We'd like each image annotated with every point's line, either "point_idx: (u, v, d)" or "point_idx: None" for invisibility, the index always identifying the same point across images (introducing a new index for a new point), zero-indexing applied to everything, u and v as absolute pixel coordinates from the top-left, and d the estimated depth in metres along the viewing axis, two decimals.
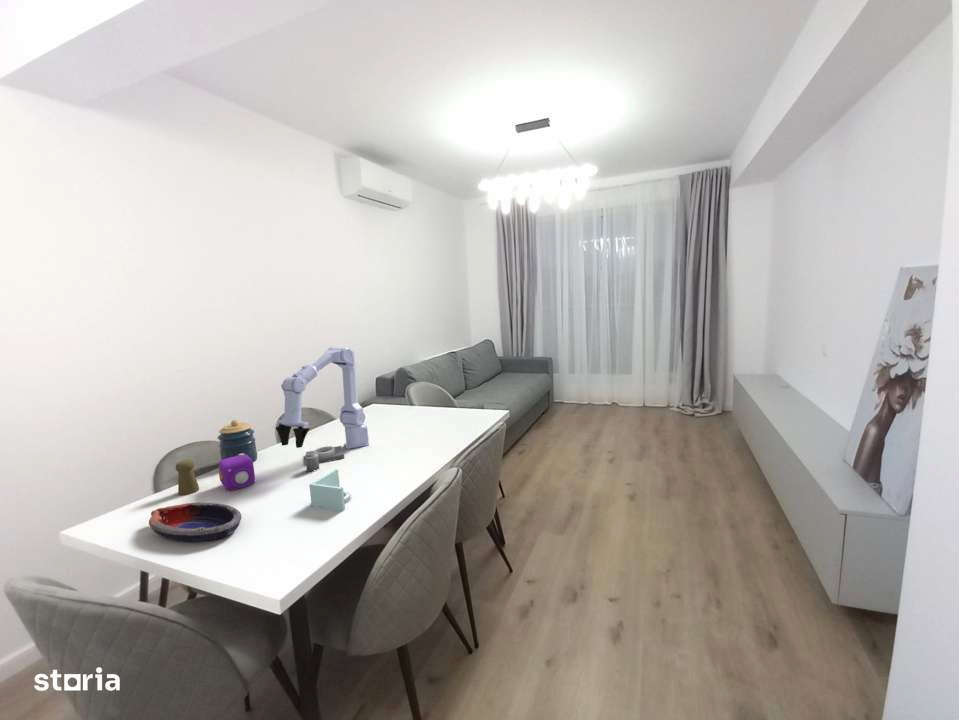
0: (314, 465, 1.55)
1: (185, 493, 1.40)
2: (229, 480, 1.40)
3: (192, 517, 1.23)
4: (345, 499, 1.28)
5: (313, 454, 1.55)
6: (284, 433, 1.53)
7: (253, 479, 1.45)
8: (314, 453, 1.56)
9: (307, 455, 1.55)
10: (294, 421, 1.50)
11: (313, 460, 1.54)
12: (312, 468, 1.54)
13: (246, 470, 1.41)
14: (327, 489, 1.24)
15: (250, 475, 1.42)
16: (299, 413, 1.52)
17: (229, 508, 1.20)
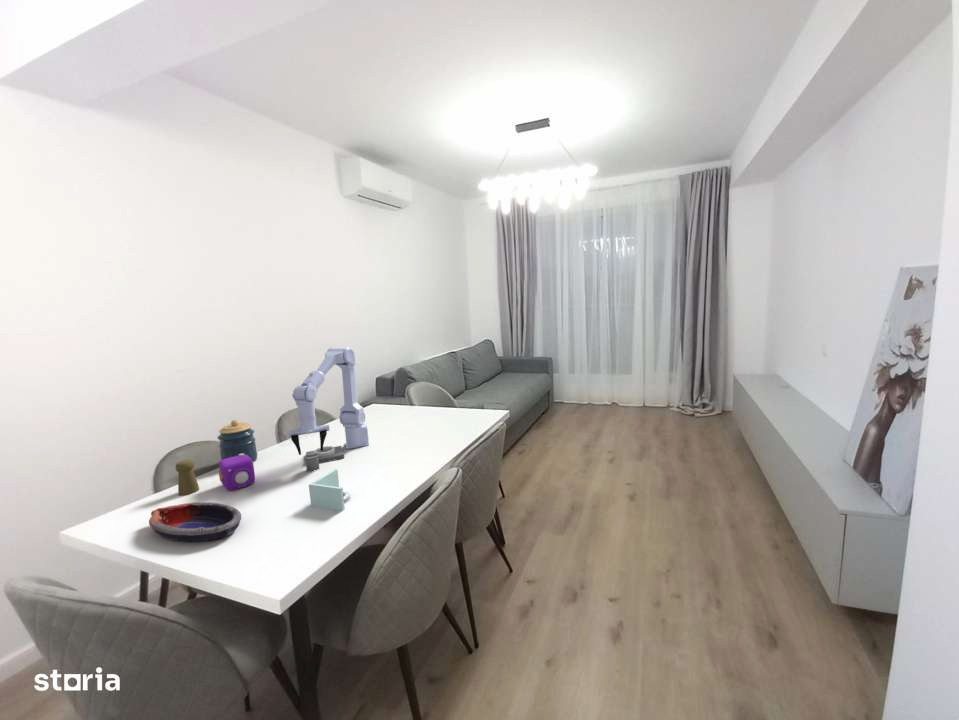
0: (314, 465, 1.55)
1: (185, 493, 1.40)
2: (229, 480, 1.40)
3: (192, 517, 1.23)
4: (344, 499, 1.28)
5: (313, 454, 1.55)
6: None
7: (253, 479, 1.45)
8: (314, 453, 1.56)
9: (307, 455, 1.55)
10: (315, 427, 1.54)
11: (313, 460, 1.54)
12: (312, 468, 1.54)
13: (246, 470, 1.41)
14: (326, 489, 1.24)
15: (250, 475, 1.42)
16: None
17: (229, 508, 1.20)
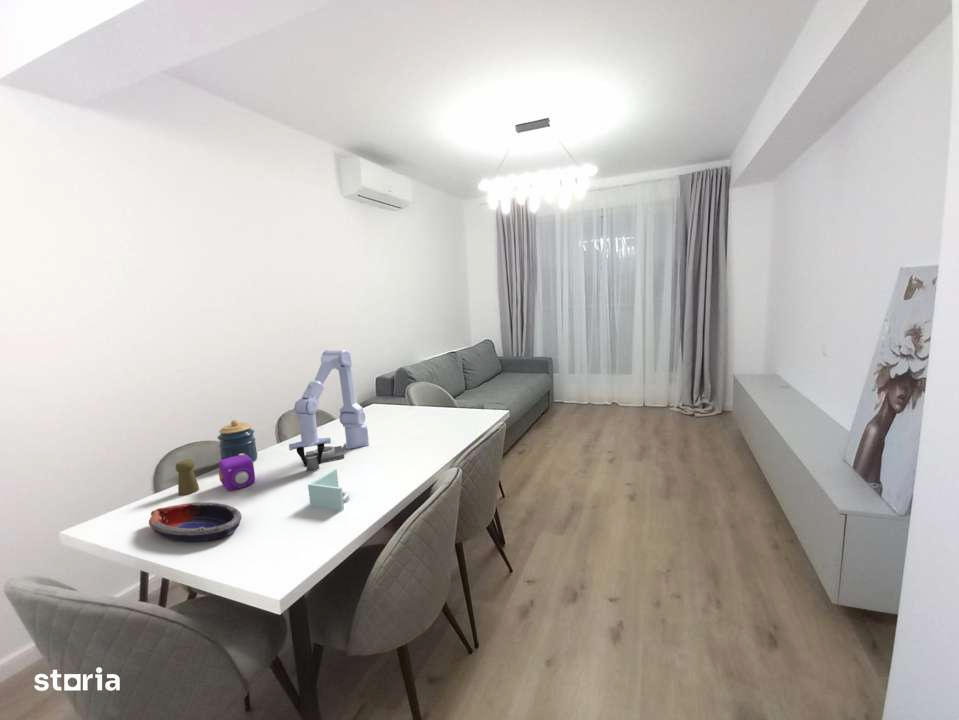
0: (314, 465, 1.55)
1: (185, 493, 1.40)
2: (229, 480, 1.40)
3: (192, 517, 1.23)
4: (344, 499, 1.28)
5: (313, 454, 1.55)
6: (304, 455, 1.54)
7: (253, 479, 1.45)
8: (314, 453, 1.56)
9: (307, 455, 1.55)
10: (317, 440, 1.55)
11: (313, 460, 1.54)
12: (312, 468, 1.54)
13: (246, 470, 1.41)
14: (326, 489, 1.24)
15: (250, 475, 1.42)
16: None
17: (229, 508, 1.20)
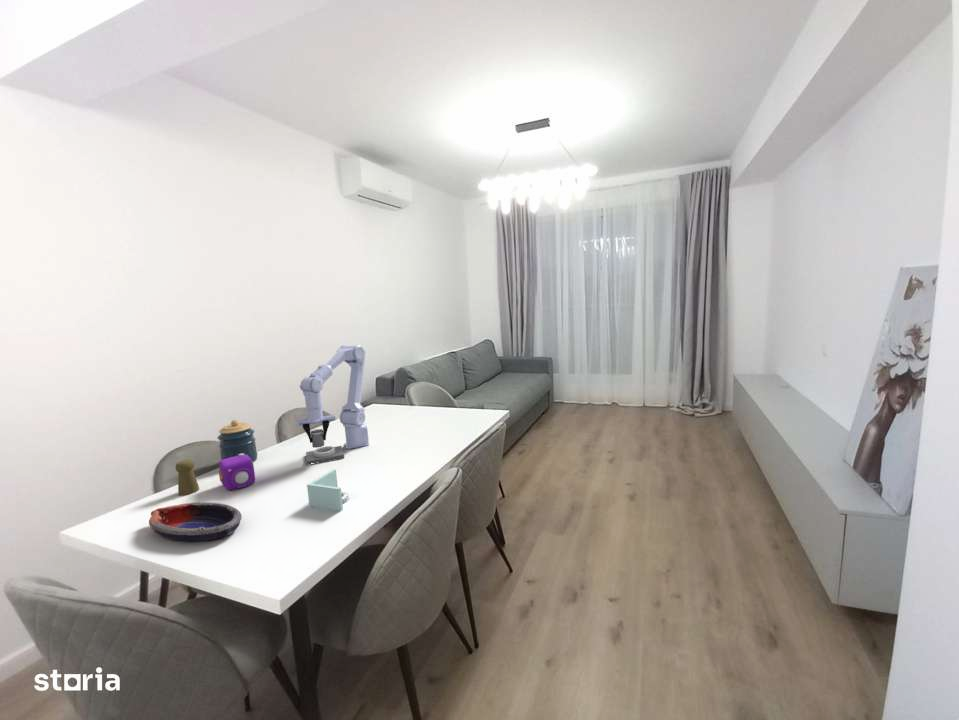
0: (320, 441, 1.61)
1: (185, 493, 1.40)
2: (229, 480, 1.40)
3: (192, 517, 1.23)
4: (343, 499, 1.28)
5: (318, 430, 1.62)
6: None
7: (253, 479, 1.45)
8: (319, 430, 1.63)
9: (313, 431, 1.61)
10: (322, 417, 1.61)
11: (319, 436, 1.60)
12: (317, 444, 1.60)
13: (246, 470, 1.41)
14: (325, 489, 1.24)
15: (250, 475, 1.42)
16: None
17: (229, 508, 1.20)
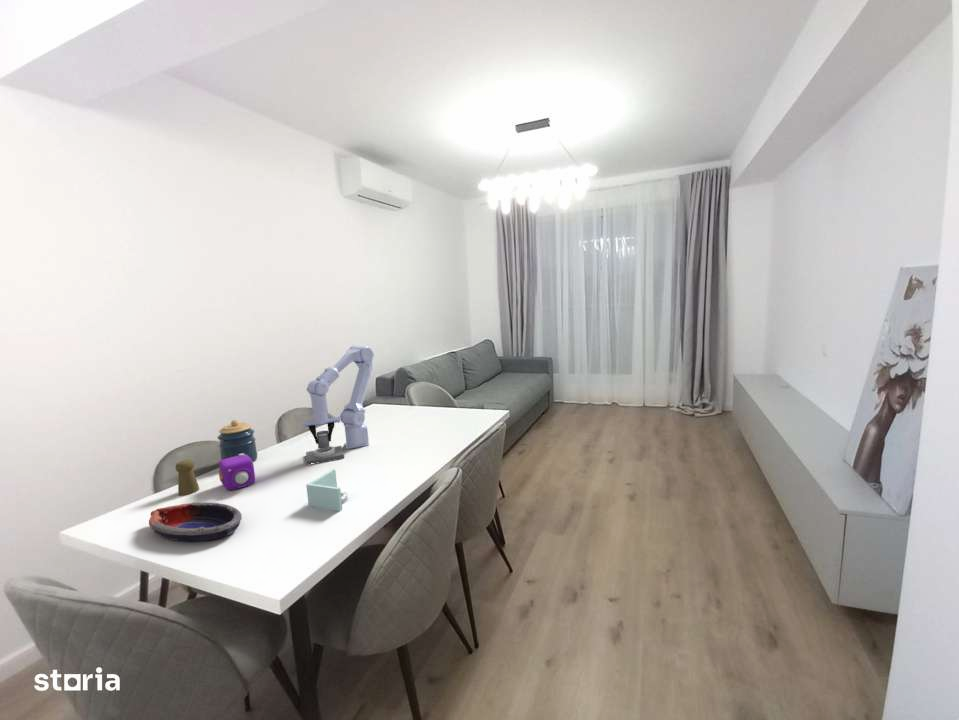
0: (325, 442, 1.67)
1: (185, 493, 1.40)
2: (229, 480, 1.40)
3: (192, 517, 1.23)
4: (342, 499, 1.28)
5: (324, 432, 1.68)
6: None
7: (253, 479, 1.45)
8: (325, 431, 1.69)
9: (318, 433, 1.67)
10: (327, 419, 1.67)
11: (324, 438, 1.66)
12: (322, 445, 1.66)
13: (246, 470, 1.41)
14: (324, 489, 1.24)
15: (250, 475, 1.42)
16: None
17: (229, 508, 1.20)
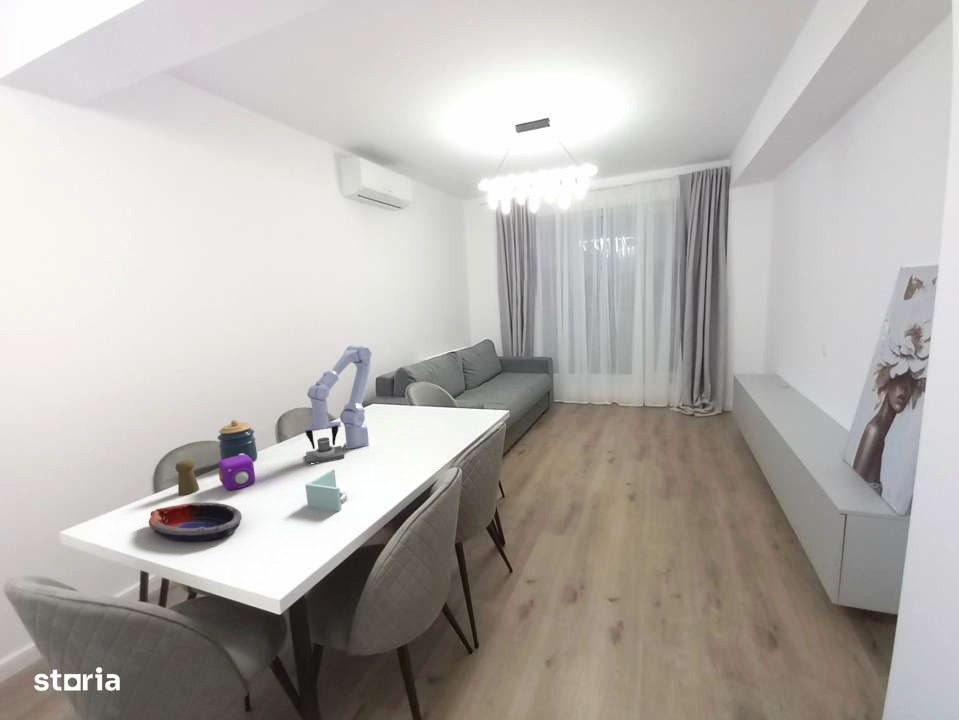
0: (326, 449, 1.67)
1: (185, 493, 1.40)
2: (229, 480, 1.40)
3: (192, 517, 1.23)
4: (341, 499, 1.28)
5: (325, 439, 1.68)
6: None
7: (253, 479, 1.45)
8: (326, 438, 1.69)
9: (319, 440, 1.67)
10: (328, 423, 1.67)
11: (325, 445, 1.67)
12: None
13: (246, 470, 1.41)
14: (323, 489, 1.24)
15: (250, 475, 1.42)
16: None
17: (229, 508, 1.20)
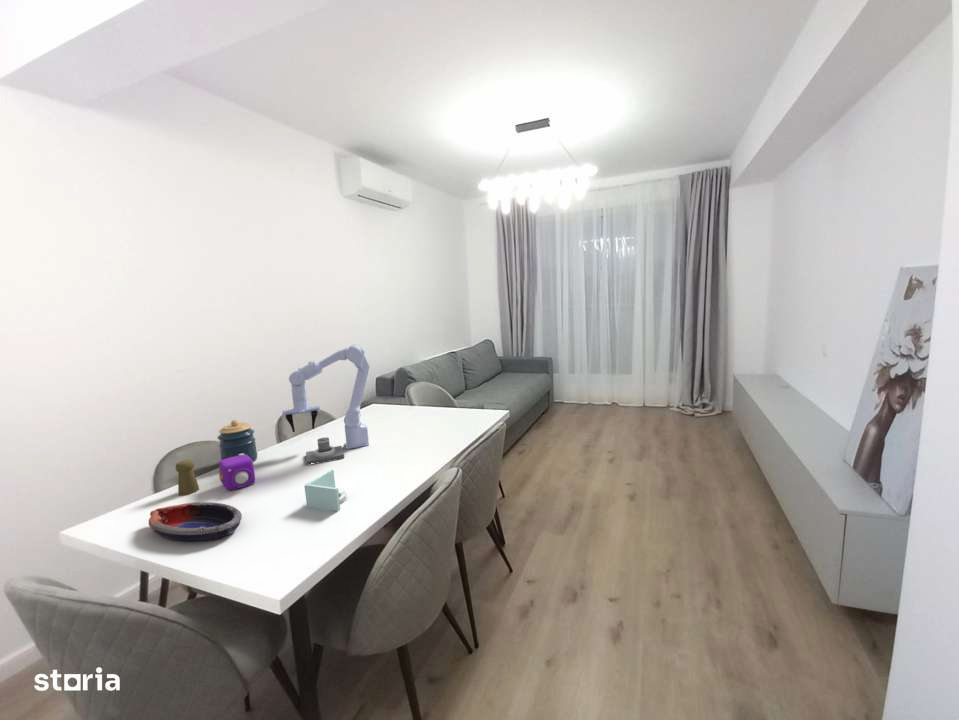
0: (326, 449, 1.67)
1: (185, 493, 1.40)
2: (229, 480, 1.40)
3: (192, 517, 1.23)
4: (340, 500, 1.28)
5: (325, 439, 1.68)
6: None
7: (253, 479, 1.45)
8: (325, 438, 1.69)
9: (319, 440, 1.67)
10: (307, 408, 1.75)
11: (325, 445, 1.67)
12: None
13: (246, 470, 1.41)
14: (322, 490, 1.24)
15: (250, 475, 1.42)
16: None
17: (229, 508, 1.20)
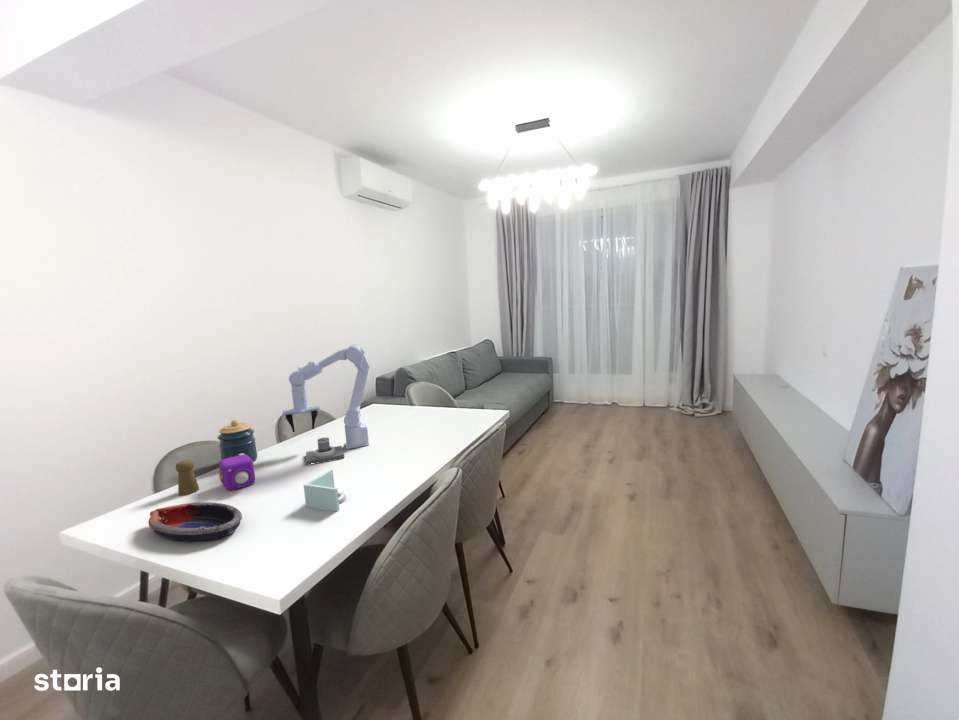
0: (326, 449, 1.67)
1: (185, 493, 1.40)
2: (229, 480, 1.40)
3: (191, 517, 1.23)
4: (339, 500, 1.28)
5: (325, 439, 1.68)
6: None
7: (253, 479, 1.45)
8: (326, 438, 1.69)
9: (319, 440, 1.67)
10: (307, 408, 1.75)
11: (325, 445, 1.67)
12: None
13: (246, 470, 1.41)
14: (321, 490, 1.24)
15: (250, 475, 1.42)
16: None
17: (229, 508, 1.20)
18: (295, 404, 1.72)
